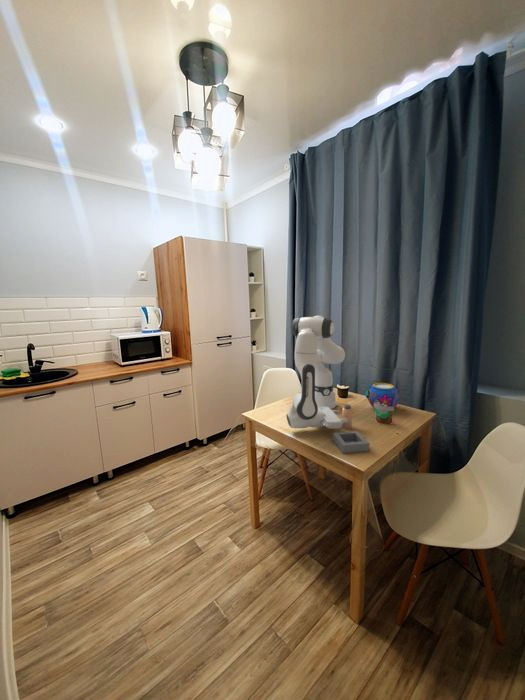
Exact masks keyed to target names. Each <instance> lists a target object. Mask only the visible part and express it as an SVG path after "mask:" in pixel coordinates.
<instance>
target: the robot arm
mask: <svg viewBox="0 0 525 700" xmlns="http://www.w3.org/2000/svg"><path fill="white" fill-rule="evenodd" d="M334 330H335V325H334V322H333V320H332V319H331V318H328V317H323V315H314V316H304V317H302V316H299V317H295V318H294V319H293V320H292V322H291V332H292V335H293V336H294V337H295V338H296V340H295V346H294V365H295V368H296V369H297V371H298V373H299V375H300V379H301V388H300V389H301V391H299V392H297V393H295V394H294V395H293V397H292V401H291V404H290V405H291V406H290V408H289V409H288V411H287V413H286V421H287V423H288V426H289V427H290V428H291V429H307V428H321V427H326V429H332V430H333V429H339V430H340V429H343V428H342V424H343V423H345V422H348V419H347V418H344V419H342V418H339V416H340V415H342V411H340V410H337V409H335V410H334V408H336V406H338V405H339V403H338V402H336V400H337V399H336V392H335V391H334V384H333V373H332V371H331V370H330V369H328V368H327V367H326V366H324V364H328V365H329V364H330V365H331V364H332V365H335V364H336V365H337V364H341V363H343V362H344V360H345V359H346V352H345V350H344V348H343V347H341V346H339V345H338V344H336V343H335V342H334V341H333V340H332V338H331V337H332V336H333V333H334Z"/></svg>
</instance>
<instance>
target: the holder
mask: <svg viewBox="0 0 525 700" xmlns="http://www.w3.org/2000/svg"><path fill="white" fill-rule="evenodd" d="M332 442H333V443H334V444H335V445H336V447H337V449H338V450H339V451H340V452H341V454H342V455H345V454H348V455H349V454H356V453H367V452H370V442H369V441H368V440H367V439H366V438H365V437H364V436H363V435H362V434H361V433H360V431H358V430H351V431H350V430H348V431H340V432H332Z"/></svg>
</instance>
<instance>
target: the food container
mask: <svg viewBox="0 0 525 700" xmlns="http://www.w3.org/2000/svg"><path fill="white" fill-rule="evenodd" d="M374 407H375V408H374ZM374 407H373V408H374V414H375V421H376V422H377V423H379V424H382V423H383V425H391V423H392V424H393V419H394V418H393V417H394V416H393V415H394V411H395V408H394V407H390V406H388V405H386V404H383V403H381V402H379V400H376V401H375V403H374Z"/></svg>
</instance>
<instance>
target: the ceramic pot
mask: <svg viewBox="0 0 525 700" xmlns="http://www.w3.org/2000/svg"><path fill="white" fill-rule="evenodd" d="M365 397H366V399H367V401H368V402H369V404H370V406H371V407H372V408H373V409H375V407H374V403H375V401H376V400H379V402H381V403H383V404H386V405H388V406H390V407H394V409H395V408H396V407H397V406H398V404H399V401H400V394H399V391H398V389H397V387H396V386H395V385H393V384H391V383H388V382H387V383H386V382H377V383H373V384H372V385H371V386H370V387H369V389H368V390H367V391H366V392H365Z"/></svg>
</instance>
